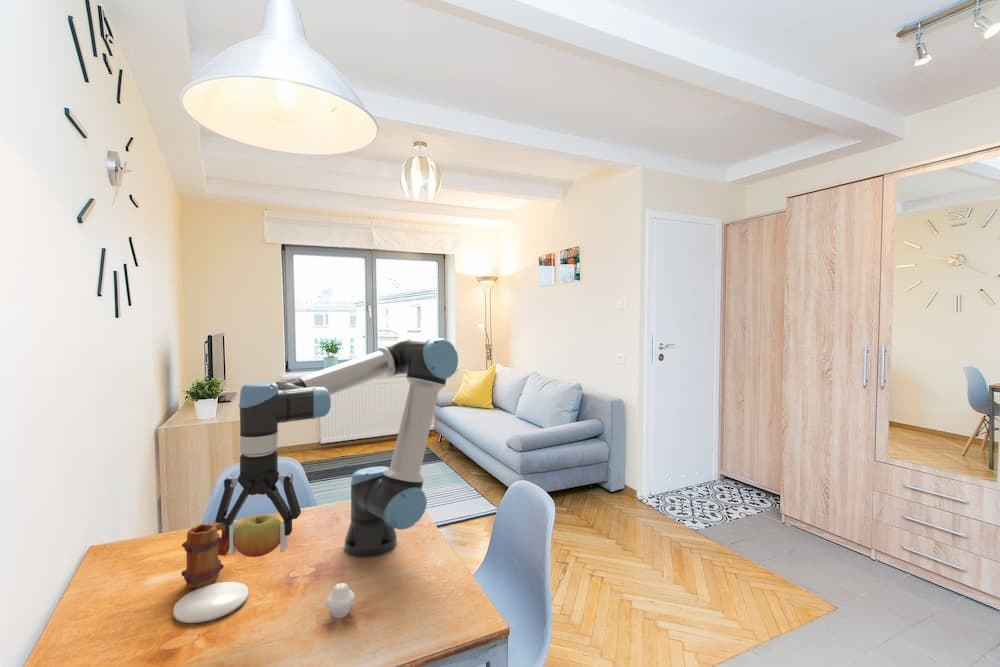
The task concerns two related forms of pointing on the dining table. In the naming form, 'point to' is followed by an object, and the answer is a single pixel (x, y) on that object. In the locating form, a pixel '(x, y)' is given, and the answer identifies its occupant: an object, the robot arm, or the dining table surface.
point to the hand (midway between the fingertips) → (259, 550)
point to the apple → (257, 535)
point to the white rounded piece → (340, 600)
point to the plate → (210, 602)
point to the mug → (204, 554)
